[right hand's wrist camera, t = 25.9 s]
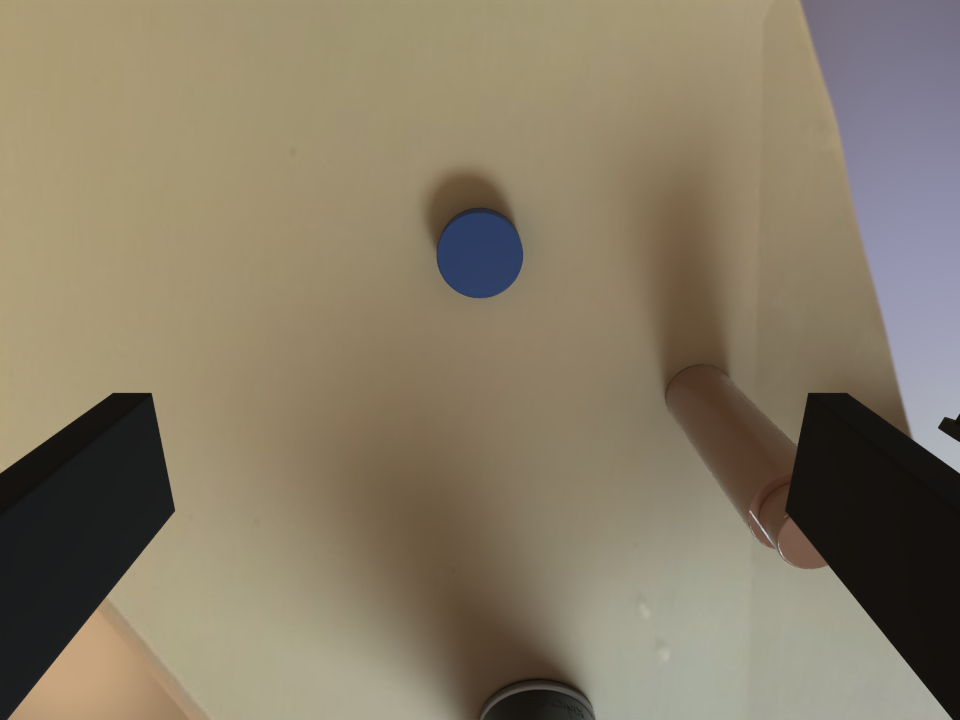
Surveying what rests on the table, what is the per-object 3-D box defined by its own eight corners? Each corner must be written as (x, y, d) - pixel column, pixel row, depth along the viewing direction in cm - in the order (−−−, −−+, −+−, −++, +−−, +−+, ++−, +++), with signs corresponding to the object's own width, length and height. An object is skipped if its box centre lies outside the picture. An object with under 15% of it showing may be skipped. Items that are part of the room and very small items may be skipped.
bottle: (744, 391, 40) (888, 532, 26) (696, 435, 41) (809, 594, 27) (699, 351, 39) (823, 476, 25) (652, 398, 40) (745, 543, 26)
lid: (430, 277, 37) (427, 285, 35) (450, 197, 36) (448, 201, 34) (507, 298, 38) (508, 307, 36) (530, 220, 36) (533, 226, 34)
